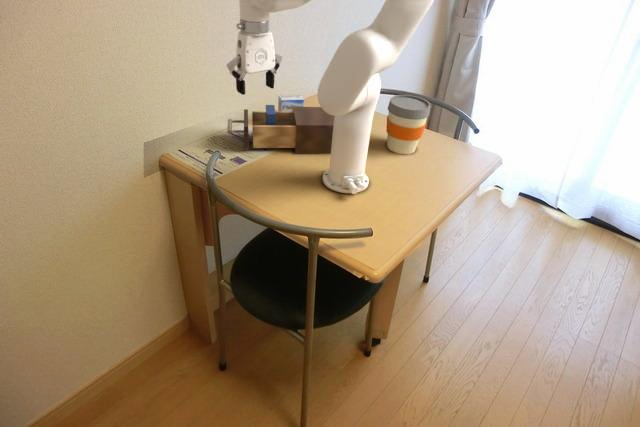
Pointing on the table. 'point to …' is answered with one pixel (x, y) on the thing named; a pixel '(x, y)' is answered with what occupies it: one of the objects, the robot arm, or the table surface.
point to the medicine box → (289, 102)
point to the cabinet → (313, 130)
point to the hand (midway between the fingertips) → (255, 90)
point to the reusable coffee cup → (406, 122)
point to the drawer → (268, 130)
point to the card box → (270, 115)
